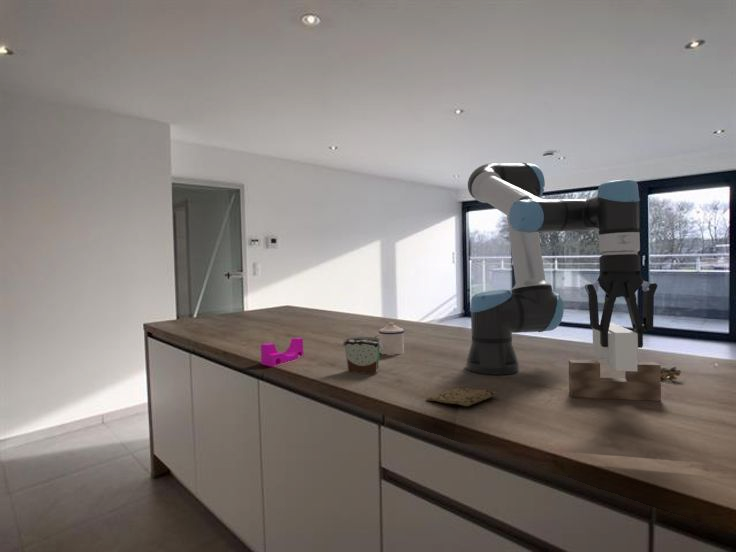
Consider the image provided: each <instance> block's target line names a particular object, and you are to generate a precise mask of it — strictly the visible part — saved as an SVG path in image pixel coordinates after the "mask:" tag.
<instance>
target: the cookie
mask: <svg viewBox="0 0 736 552" xmlns="http://www.w3.org/2000/svg"><path fill="white" fill-rule="evenodd" d="M497 395H498V392H497V391H493V390H489V389H471V388H467V387H456V388H453V389H449V390H447V391H444V392H441V393H437V394H435V395H432V396H429V397H426V401H433V402H438V403H442V404H443V403H444V404H454V405H460V406H462V407H463V406H464V407H469V406H473V405H474V404H477V403H480V402H483V401H485V400H487V399H490V398H492V397H495V396H497Z"/></svg>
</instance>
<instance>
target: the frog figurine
mask: <svg viewBox="0 0 736 552" xmlns="http://www.w3.org/2000/svg"><path fill="white" fill-rule="evenodd" d="M660 368H661V384H671V383H673V381H672V380H677V379H678V377H680V375H681V372H682V370H681V369H678V368H677V367H676V366H673V367H665V366H660ZM670 379H672V380H670Z"/></svg>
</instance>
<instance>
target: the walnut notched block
mask: <svg viewBox="0 0 736 552" xmlns="http://www.w3.org/2000/svg"><path fill="white" fill-rule="evenodd" d="M660 367H661V364H659V363H657V362H655V361H638V364H637V371H624V372H625V377H624V378H623V377H622V378H621V377H601V363H600V362H599V361H598V360H597V359H596V360H593V359H592V360H590V359H568V389H569V390H568V391H569V392H568V393H569V395H570V396H571V398H587V399H588V398H590V399H593V398H594V399H606V400H607V399H610V400H612V399H613V400H629V401H646V402H647V401H648V402H649V401H650V402H661V401H662V393H661V392H662V388H661V387H662V385H661V384H662V380H661V368H660Z"/></svg>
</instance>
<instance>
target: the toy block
mask: <svg viewBox="0 0 736 552" xmlns="http://www.w3.org/2000/svg"><path fill="white" fill-rule="evenodd" d="M275 345H276V344H275V343H270V342H266V343H261V344H260V359H261V361H260V362H261V363H260V364H261V365H263V366H268V367H271V368H274V366H275V365H278V364H281V363H285V362H288V361H292V360H295V359H298V360H299V358H298V355H300V356H302V355H303V356H304V339H303V337H292V338H291V339H290V343H289V346H288V348H286V350H285V351H284V352H278V350H277V349H276V346H275ZM275 367H276V366H275Z"/></svg>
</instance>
